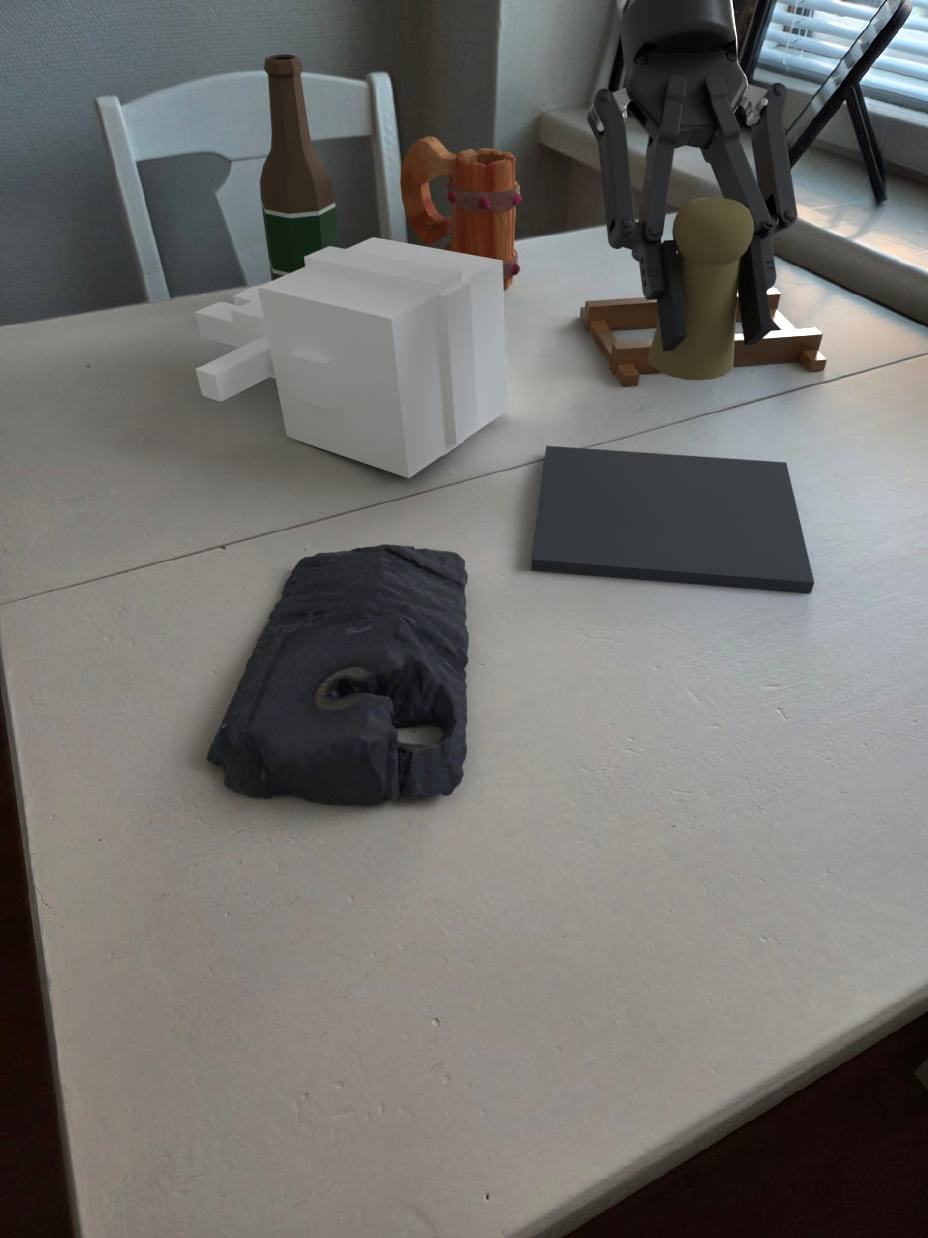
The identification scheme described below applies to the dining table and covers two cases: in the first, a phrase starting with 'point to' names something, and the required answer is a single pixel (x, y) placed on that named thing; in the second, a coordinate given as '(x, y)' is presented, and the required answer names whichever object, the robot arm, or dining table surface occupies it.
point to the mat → (670, 519)
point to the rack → (643, 313)
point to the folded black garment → (354, 681)
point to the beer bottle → (293, 176)
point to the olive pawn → (706, 287)
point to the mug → (464, 201)
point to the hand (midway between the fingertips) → (716, 340)
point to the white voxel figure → (371, 350)
